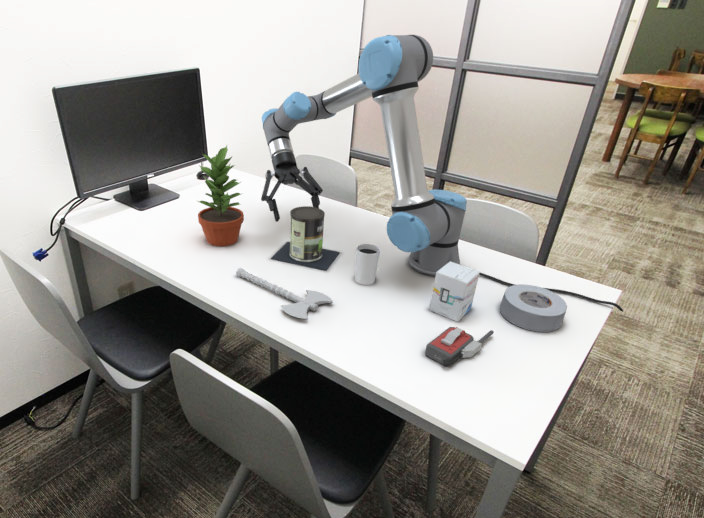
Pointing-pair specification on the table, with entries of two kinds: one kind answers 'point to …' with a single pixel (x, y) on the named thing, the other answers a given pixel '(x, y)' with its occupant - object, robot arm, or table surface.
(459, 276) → the ink box
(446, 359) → the walkie-talkie
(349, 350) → the table surface
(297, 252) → the coffee can
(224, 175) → the potted plant
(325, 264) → the felt pad
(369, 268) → the white coffee cup
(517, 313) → the tape roll
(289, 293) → the axe
